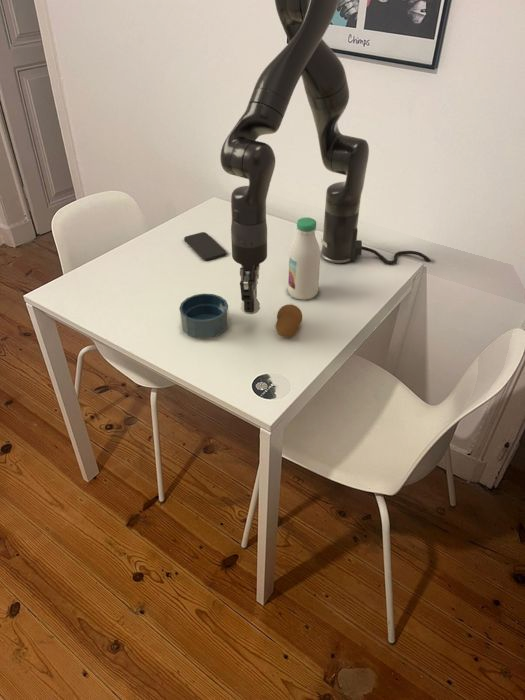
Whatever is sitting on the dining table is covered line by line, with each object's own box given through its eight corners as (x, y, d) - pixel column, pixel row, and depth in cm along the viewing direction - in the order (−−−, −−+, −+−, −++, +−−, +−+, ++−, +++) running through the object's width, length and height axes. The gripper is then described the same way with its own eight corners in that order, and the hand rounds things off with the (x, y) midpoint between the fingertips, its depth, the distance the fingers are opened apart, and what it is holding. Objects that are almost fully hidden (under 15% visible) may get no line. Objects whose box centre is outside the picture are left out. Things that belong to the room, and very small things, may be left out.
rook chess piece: (258, 316, 121) (257, 286, 116) (238, 314, 121) (237, 284, 116) (261, 305, 124) (261, 275, 119) (243, 303, 125) (242, 273, 120)
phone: (204, 259, 150) (182, 237, 160) (204, 261, 150) (182, 239, 160) (227, 252, 153) (204, 231, 163) (227, 255, 153) (205, 233, 163)
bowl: (232, 313, 131) (231, 294, 127) (224, 341, 122) (223, 322, 119) (187, 310, 132) (185, 292, 128) (177, 338, 123) (174, 319, 120)
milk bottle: (321, 287, 140) (326, 216, 127) (313, 302, 134) (318, 230, 122) (292, 282, 142) (295, 212, 129) (284, 297, 136) (286, 225, 124)
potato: (302, 320, 129) (303, 300, 125) (300, 343, 122) (301, 322, 118) (277, 319, 129) (278, 298, 125) (274, 341, 122) (274, 320, 118)
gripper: (263, 255, 105) (263, 324, 116) (270, 223, 116) (269, 289, 127) (226, 253, 106) (229, 322, 117) (236, 221, 117) (238, 287, 128)
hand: (250, 304), depth 122 cm, fingers closed on rook chess piece, 4 cm apart
